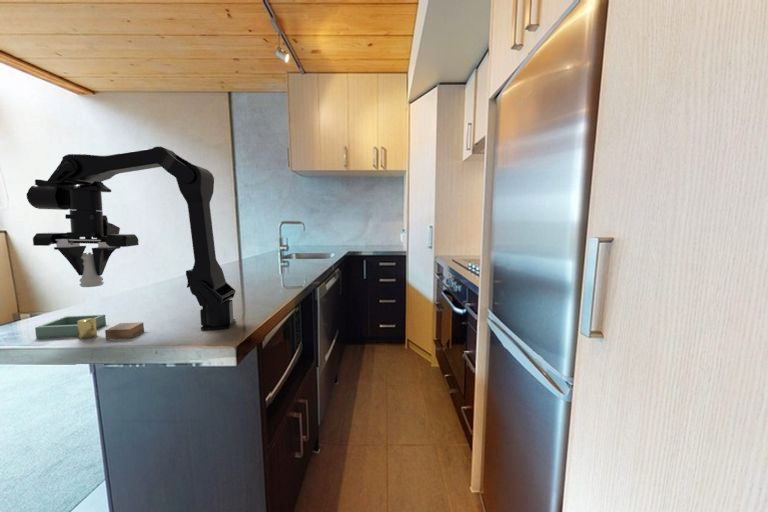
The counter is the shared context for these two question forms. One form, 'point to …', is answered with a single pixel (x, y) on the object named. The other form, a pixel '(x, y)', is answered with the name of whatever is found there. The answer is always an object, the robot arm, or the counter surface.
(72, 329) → the tray
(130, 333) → the flat brown wooden block
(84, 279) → the rook chess piece
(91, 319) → the gold metallic block
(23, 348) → the counter surface
